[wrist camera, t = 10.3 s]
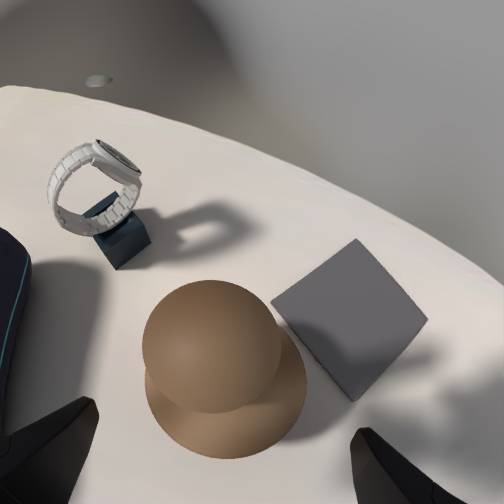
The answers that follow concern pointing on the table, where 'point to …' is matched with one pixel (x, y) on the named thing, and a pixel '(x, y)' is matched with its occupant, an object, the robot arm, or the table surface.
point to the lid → (221, 371)
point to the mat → (351, 317)
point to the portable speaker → (11, 299)
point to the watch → (103, 202)
